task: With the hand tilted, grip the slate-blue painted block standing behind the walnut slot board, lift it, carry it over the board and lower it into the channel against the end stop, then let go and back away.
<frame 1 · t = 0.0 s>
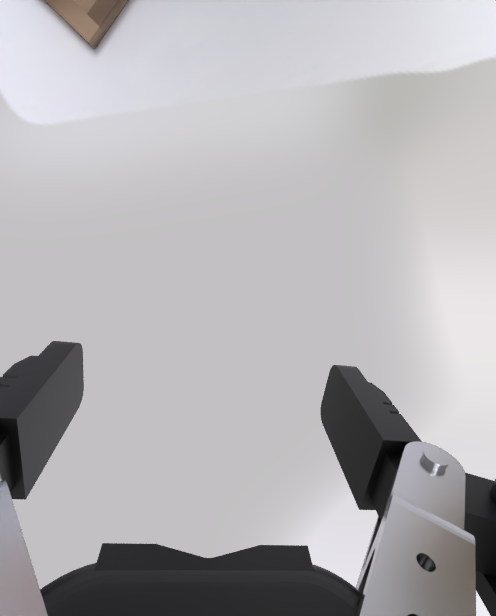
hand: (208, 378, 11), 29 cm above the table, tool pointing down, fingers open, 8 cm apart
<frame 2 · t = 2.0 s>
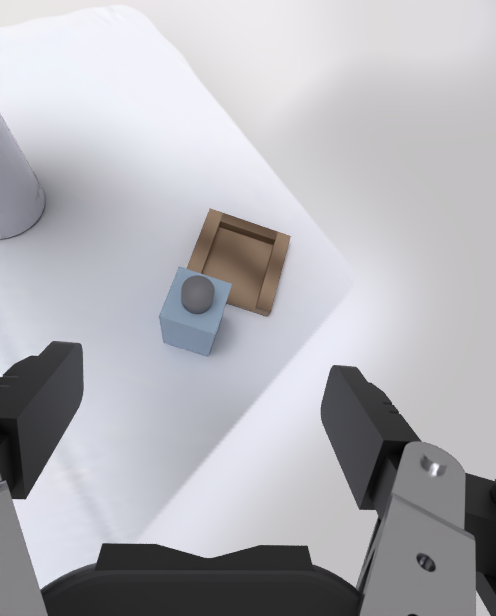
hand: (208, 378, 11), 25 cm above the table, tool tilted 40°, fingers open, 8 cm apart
plug block: (193, 328, 37), on the table
slot board: (236, 264, 41), on the table
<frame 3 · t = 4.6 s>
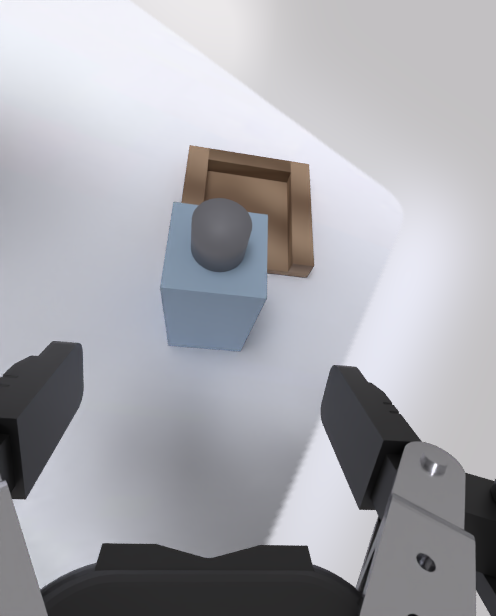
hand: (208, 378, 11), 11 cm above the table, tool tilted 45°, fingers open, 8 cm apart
plug block: (207, 315, 24), on the table
slot board: (245, 216, 28), on the table
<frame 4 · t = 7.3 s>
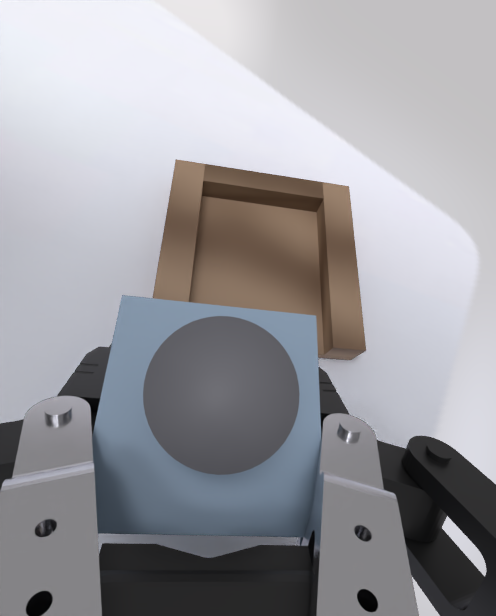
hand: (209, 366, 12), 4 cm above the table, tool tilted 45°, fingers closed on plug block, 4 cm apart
plug block: (200, 433, 15), on the table, touching gripper
slot board: (257, 264, 19), on the table
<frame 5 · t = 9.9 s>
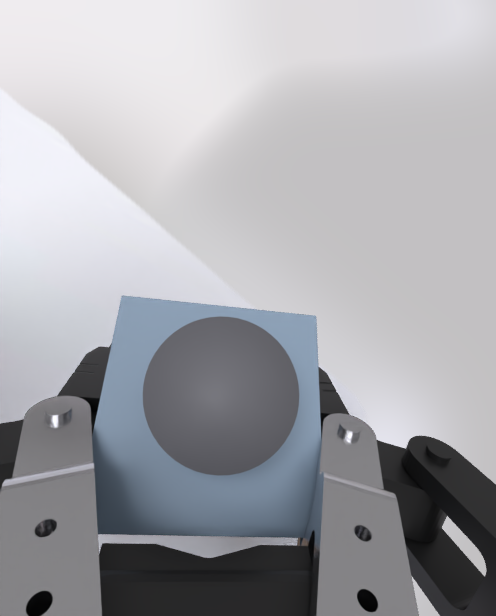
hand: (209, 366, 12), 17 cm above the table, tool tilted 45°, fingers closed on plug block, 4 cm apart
plug block: (200, 433, 15), point 12 cm above the table, touching gripper
when the fingers open (7 cm above the table, at t = 12.5 s): plug block drops 2 cm, resting on slot board.
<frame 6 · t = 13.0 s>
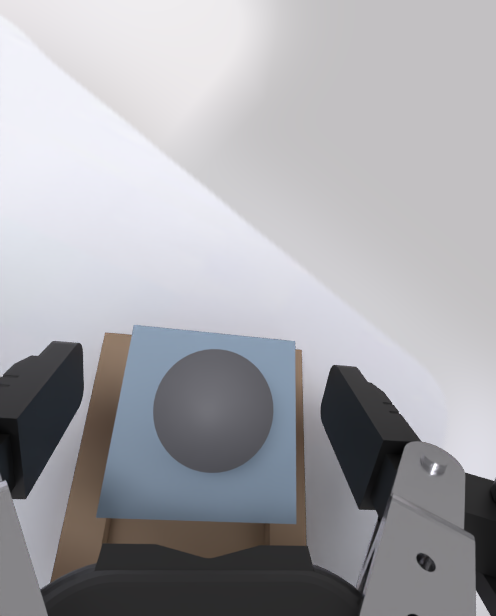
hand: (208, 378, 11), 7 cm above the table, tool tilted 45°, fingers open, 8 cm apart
plug block: (198, 437, 17), resting on slot board
slot board: (196, 448, 17), on the table
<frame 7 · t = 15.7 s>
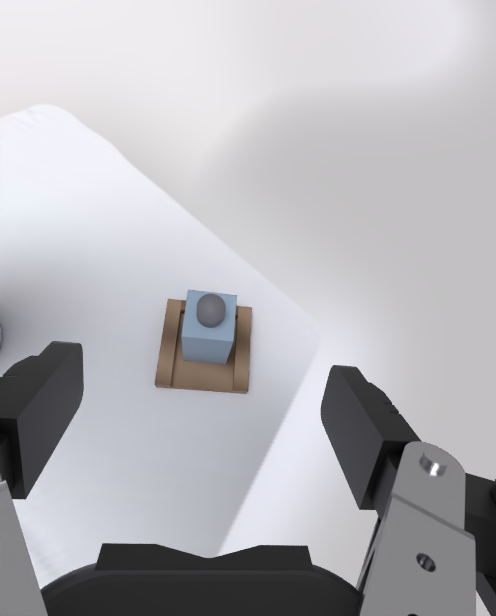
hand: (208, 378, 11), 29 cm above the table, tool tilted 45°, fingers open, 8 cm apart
plug block: (206, 342, 41), resting on slot board
slot board: (205, 347, 41), on the table
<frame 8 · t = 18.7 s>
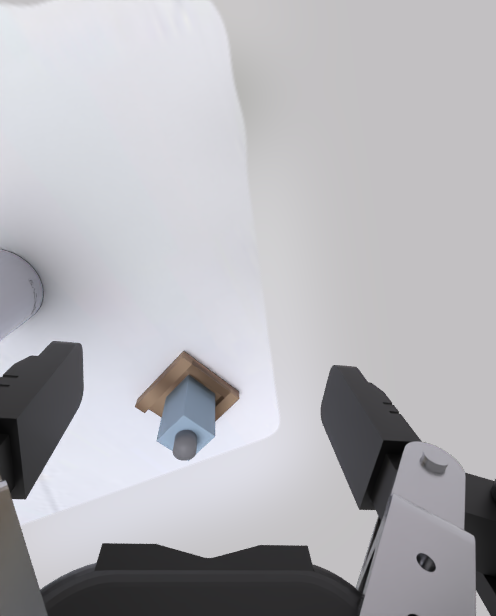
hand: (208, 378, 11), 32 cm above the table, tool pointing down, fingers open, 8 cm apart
plug block: (190, 395, 49), resting on slot board
slot board: (188, 395, 49), on the table
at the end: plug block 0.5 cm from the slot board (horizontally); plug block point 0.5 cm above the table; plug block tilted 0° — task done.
